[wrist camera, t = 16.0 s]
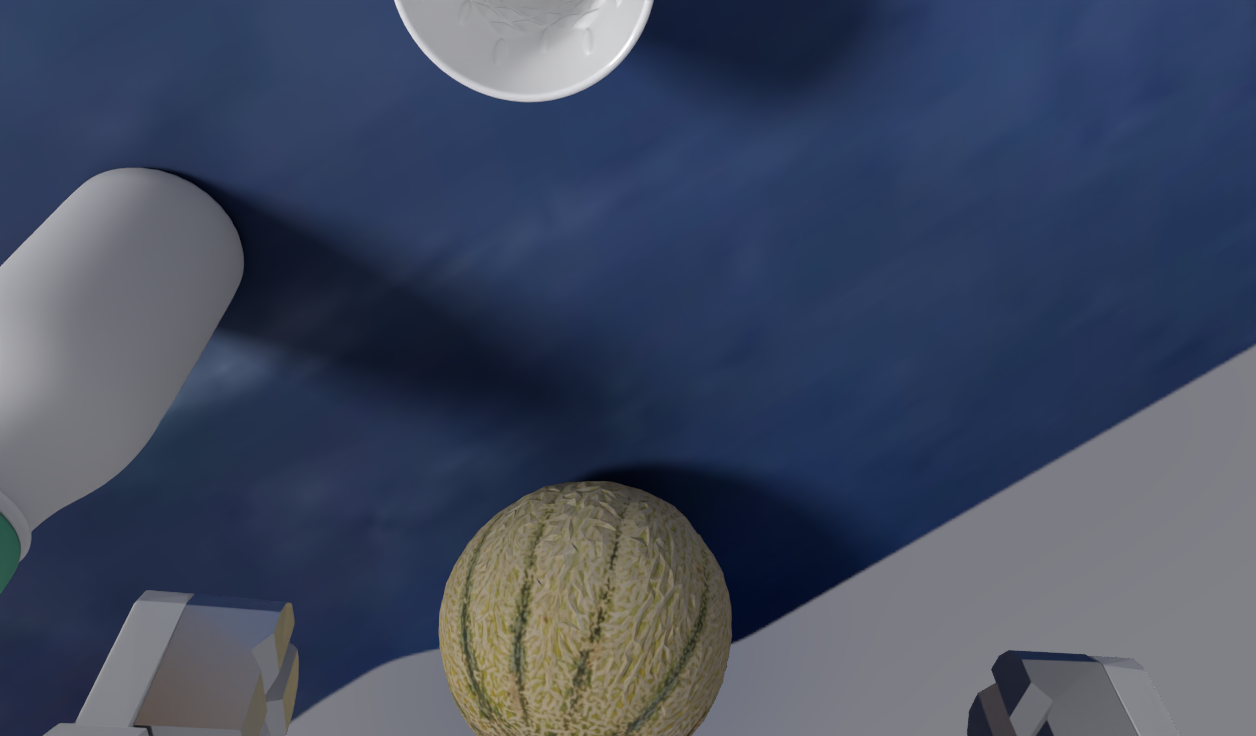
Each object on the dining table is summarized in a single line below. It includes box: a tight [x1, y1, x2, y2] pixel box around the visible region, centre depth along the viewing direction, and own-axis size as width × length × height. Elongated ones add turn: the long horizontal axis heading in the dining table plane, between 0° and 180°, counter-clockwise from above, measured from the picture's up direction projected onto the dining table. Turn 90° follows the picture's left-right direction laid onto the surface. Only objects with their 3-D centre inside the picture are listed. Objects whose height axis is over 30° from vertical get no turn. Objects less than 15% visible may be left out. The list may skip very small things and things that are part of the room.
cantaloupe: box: [439, 481, 732, 736], centre depth 49 cm, size 15×15×15 cm
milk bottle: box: [0, 168, 244, 594], centre depth 36 cm, size 8×8×20 cm
